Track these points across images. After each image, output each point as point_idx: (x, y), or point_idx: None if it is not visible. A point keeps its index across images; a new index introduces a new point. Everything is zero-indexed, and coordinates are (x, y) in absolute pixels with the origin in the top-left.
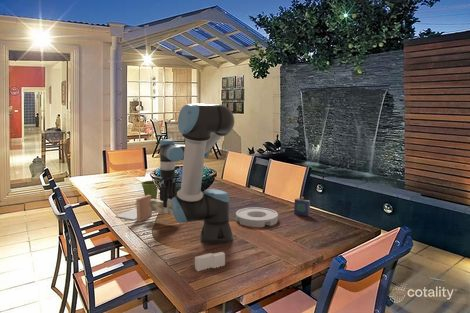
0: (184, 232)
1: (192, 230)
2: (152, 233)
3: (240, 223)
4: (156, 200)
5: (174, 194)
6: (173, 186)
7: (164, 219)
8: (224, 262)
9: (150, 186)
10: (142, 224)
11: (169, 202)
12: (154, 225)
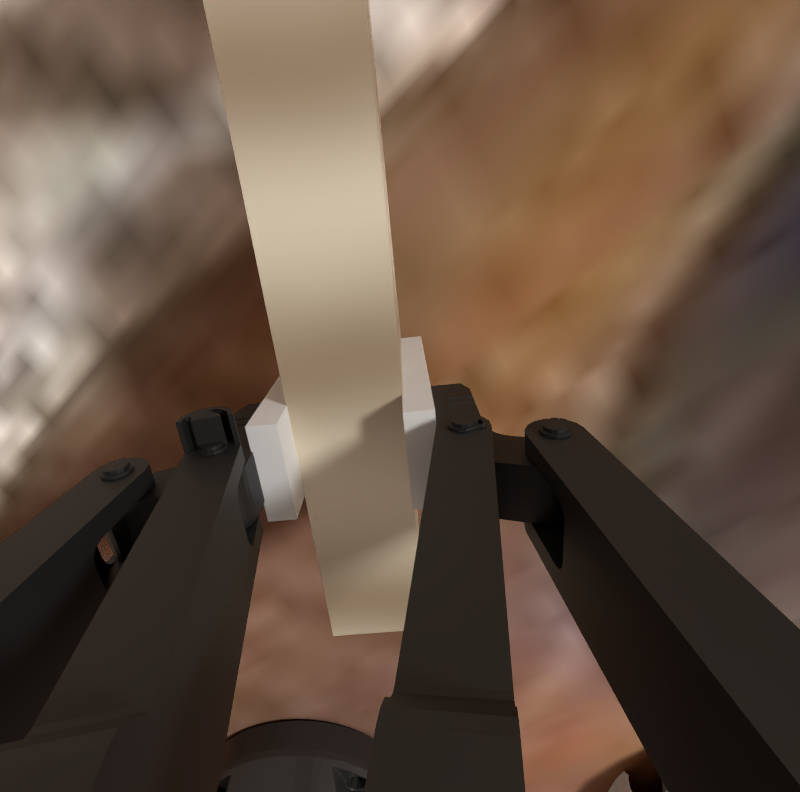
0: (256, 605)
1: (328, 624)
2: (46, 424)
3: (621, 779)
4: (287, 128)
5: (549, 559)
6: (688, 770)
7: (417, 231)
8: None
9: None
10: (119, 122)
11: (356, 474)
12: (198, 281)
